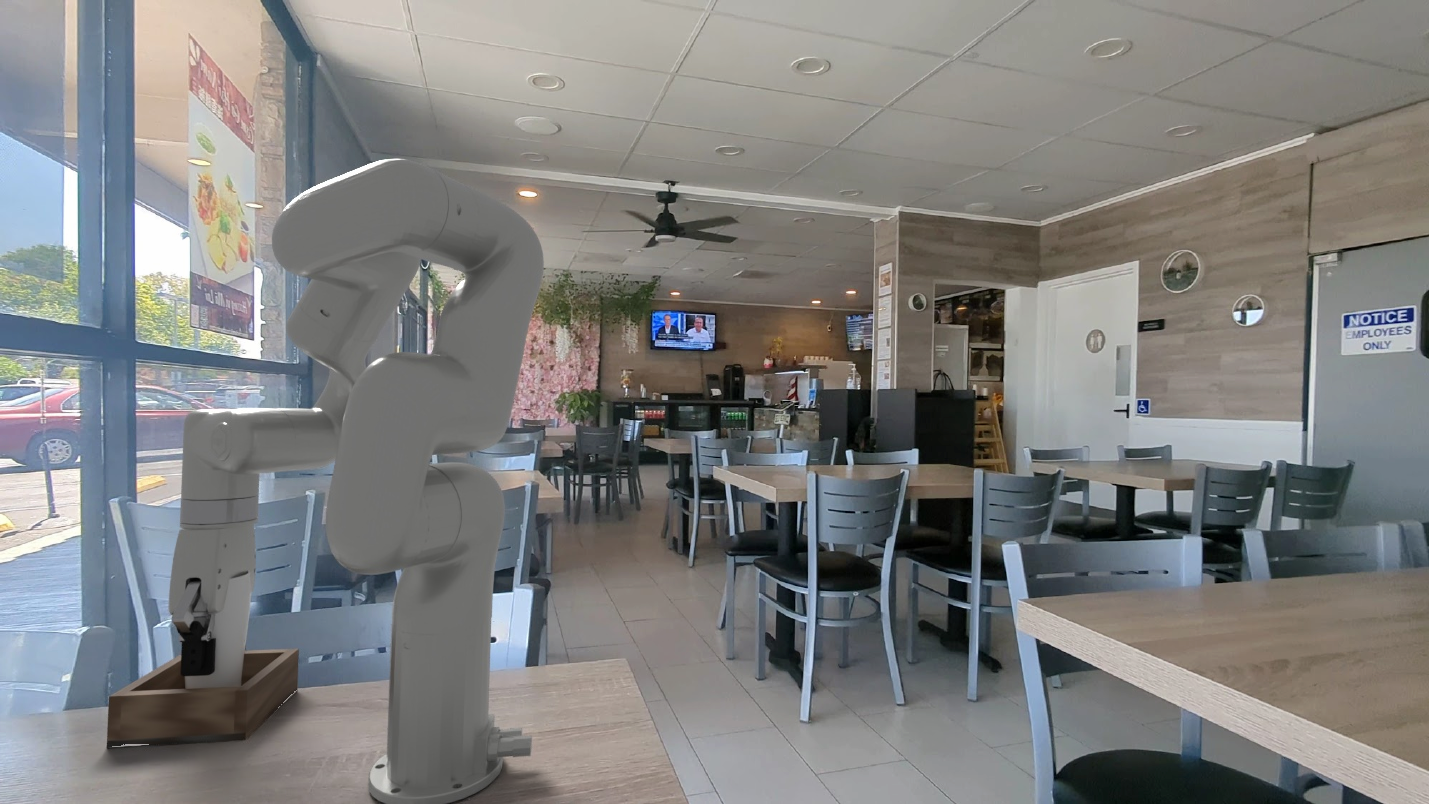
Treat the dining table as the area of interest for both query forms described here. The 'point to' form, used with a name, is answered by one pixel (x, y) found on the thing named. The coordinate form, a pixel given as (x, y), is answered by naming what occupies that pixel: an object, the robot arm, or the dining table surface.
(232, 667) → the drinking glass
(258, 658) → the caddy
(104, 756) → the dining table surface
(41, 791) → the dining table surface
